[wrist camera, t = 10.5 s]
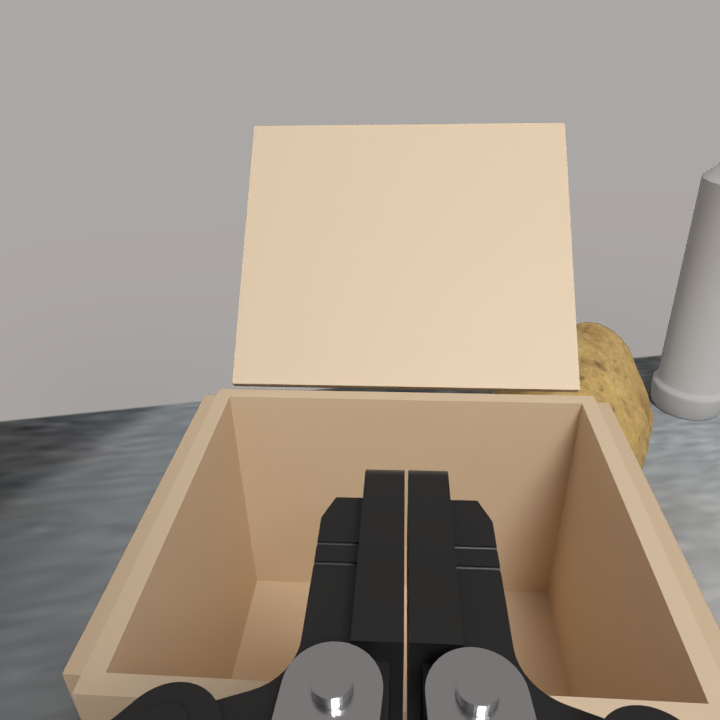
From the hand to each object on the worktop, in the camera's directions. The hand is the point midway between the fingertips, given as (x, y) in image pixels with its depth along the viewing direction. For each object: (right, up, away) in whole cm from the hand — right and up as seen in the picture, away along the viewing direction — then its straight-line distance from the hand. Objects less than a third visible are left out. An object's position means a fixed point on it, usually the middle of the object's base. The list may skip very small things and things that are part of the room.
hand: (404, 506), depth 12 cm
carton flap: (+1, +8, +17) cm, 19 cm away
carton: (+1, -13, +15) cm, 20 cm away
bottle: (+23, -1, +36) cm, 43 cm away
